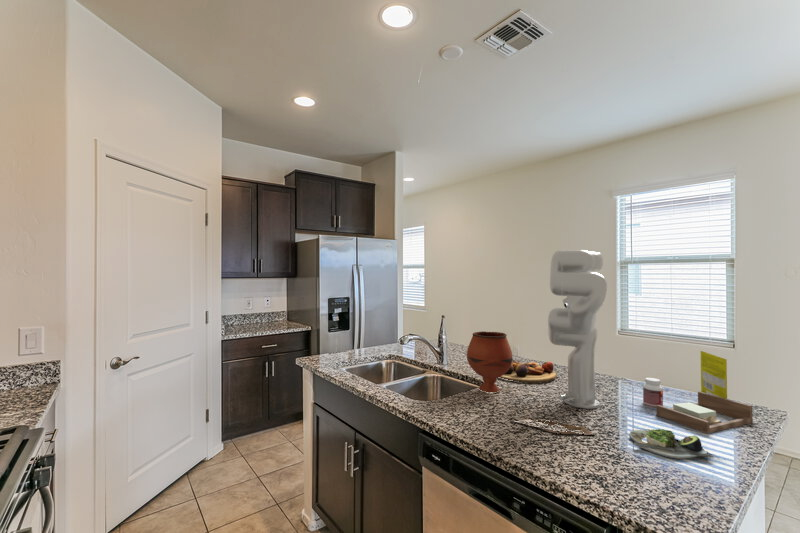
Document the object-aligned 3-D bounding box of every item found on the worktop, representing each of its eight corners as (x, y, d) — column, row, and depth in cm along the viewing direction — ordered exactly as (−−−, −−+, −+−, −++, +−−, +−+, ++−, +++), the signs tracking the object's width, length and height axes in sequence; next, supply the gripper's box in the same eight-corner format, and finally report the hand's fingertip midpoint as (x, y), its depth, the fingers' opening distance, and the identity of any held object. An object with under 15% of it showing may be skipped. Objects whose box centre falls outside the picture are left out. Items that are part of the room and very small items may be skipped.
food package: (729, 415, 131) (728, 359, 131) (725, 414, 131) (724, 359, 132) (702, 400, 146) (702, 350, 146) (699, 400, 146) (699, 350, 147)
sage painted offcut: (699, 418, 117) (699, 413, 117) (673, 408, 125) (673, 404, 125) (716, 415, 119) (716, 411, 119) (689, 406, 127) (689, 402, 127)
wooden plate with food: (557, 371, 191) (557, 355, 191) (555, 387, 162) (554, 369, 162) (495, 365, 204) (495, 351, 205) (483, 380, 175) (483, 363, 176)
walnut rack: (707, 438, 112) (706, 415, 112) (656, 419, 127) (656, 399, 127) (752, 426, 121) (752, 405, 121) (700, 410, 135) (699, 391, 135)
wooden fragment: (594, 429, 119) (594, 426, 119) (594, 443, 109) (594, 439, 109) (513, 415, 131) (513, 412, 131) (507, 427, 121) (507, 423, 121)
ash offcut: (705, 423, 116) (704, 418, 116) (670, 413, 125) (670, 408, 125) (716, 418, 120) (716, 414, 120) (682, 409, 129) (682, 404, 129)
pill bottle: (665, 412, 133) (665, 382, 133) (645, 410, 135) (645, 380, 135) (660, 406, 139) (659, 378, 139) (641, 404, 141) (641, 376, 141)
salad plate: (655, 465, 97) (655, 447, 97) (612, 435, 115) (612, 420, 115) (723, 463, 98) (723, 446, 98) (670, 433, 116) (670, 419, 116)
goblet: (521, 391, 156) (521, 333, 157) (494, 402, 144) (494, 338, 144) (484, 381, 171) (484, 328, 171) (457, 390, 158) (457, 332, 159)
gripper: (601, 282, 156) (601, 321, 156) (569, 281, 172) (569, 317, 172) (588, 282, 153) (588, 322, 153) (557, 281, 169) (557, 318, 169)
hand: (578, 319), depth 162 cm, fingers open, 9 cm apart
